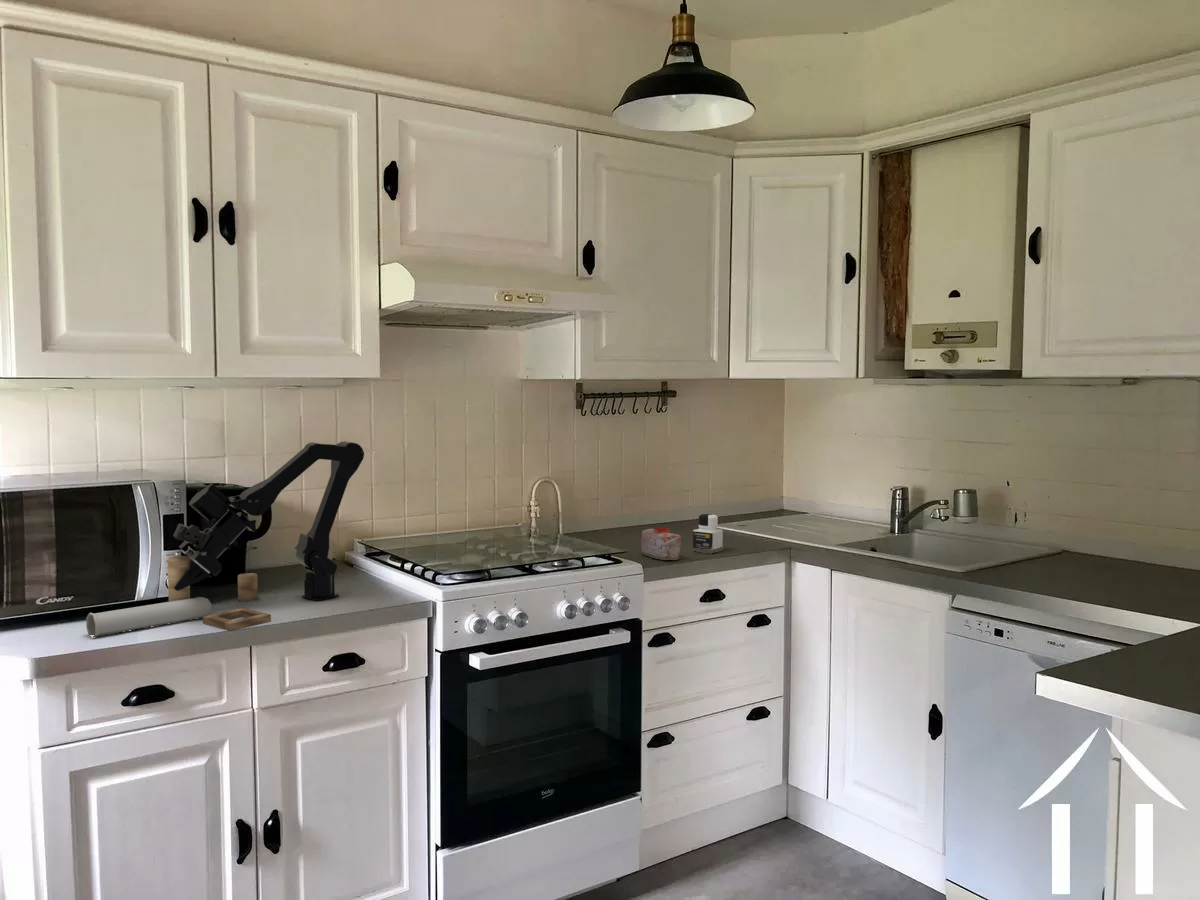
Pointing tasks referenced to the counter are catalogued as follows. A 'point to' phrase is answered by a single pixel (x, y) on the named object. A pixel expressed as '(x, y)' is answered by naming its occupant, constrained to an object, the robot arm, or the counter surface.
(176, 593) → the oak dowel
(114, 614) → the tube
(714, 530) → the medicine bottle
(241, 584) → the walnut stub
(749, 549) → the counter surface
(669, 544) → the food item
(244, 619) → the hole plate
